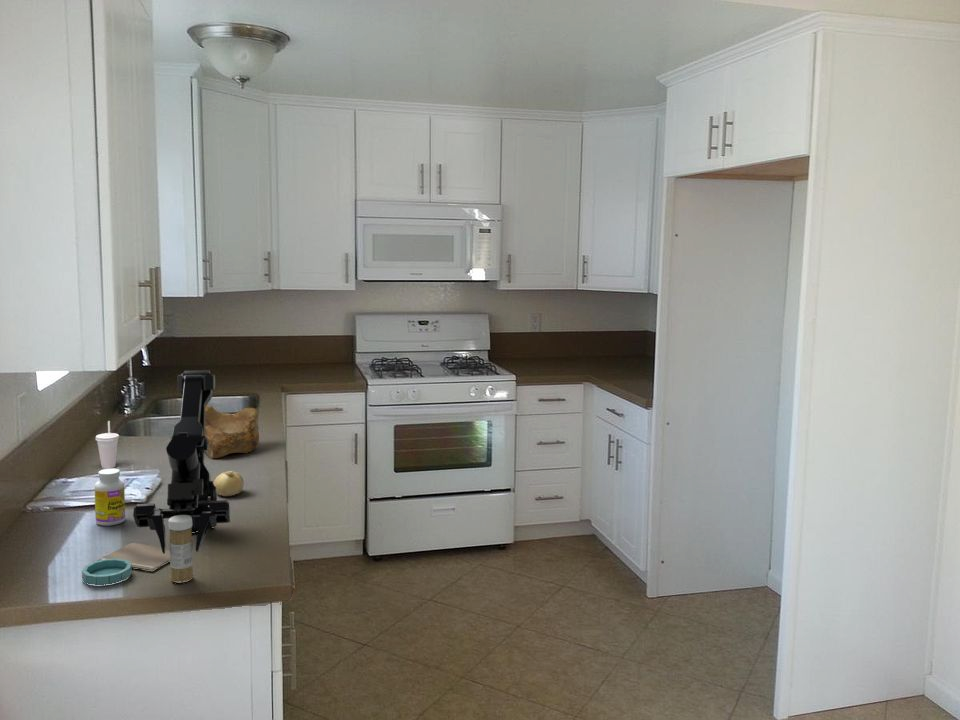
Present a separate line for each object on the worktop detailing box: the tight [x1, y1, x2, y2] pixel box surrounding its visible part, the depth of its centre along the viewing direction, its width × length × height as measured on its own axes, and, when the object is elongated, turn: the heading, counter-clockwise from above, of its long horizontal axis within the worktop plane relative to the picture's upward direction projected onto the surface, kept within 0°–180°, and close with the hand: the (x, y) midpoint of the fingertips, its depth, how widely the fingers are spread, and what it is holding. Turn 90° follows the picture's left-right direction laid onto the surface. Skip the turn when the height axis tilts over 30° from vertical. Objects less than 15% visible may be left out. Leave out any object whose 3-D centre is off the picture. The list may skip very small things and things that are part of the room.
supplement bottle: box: [94, 468, 126, 527], centre depth 199 cm, size 7×7×13 cm
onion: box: [213, 470, 245, 497], centre depth 223 cm, size 8×8×7 cm
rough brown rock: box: [204, 405, 260, 460], centre depth 261 cm, size 23×17×15 cm
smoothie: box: [95, 420, 120, 470], centre depth 244 cm, size 6×6×14 cm
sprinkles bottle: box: [168, 515, 194, 582], centre depth 168 cm, size 5×5×13 cm
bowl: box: [81, 558, 133, 585], centre depth 169 cm, size 9×9×2 cm
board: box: [96, 542, 170, 570], centre depth 179 cm, size 11×14×1 cm
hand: (180, 551), depth 167 cm, fingers open, 6 cm apart
